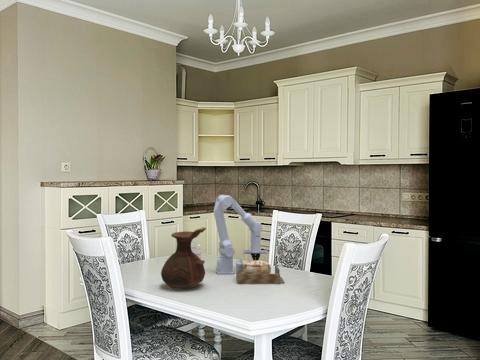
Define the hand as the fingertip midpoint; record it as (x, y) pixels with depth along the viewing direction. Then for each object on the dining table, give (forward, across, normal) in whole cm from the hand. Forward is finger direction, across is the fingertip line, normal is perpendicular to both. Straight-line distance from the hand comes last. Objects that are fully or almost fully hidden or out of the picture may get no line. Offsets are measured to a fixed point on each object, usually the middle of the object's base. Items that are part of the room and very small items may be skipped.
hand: (255, 266), depth 263 cm
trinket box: (+3, 0, -11) cm, 12 cm away
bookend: (+2, +11, -25) cm, 27 cm away
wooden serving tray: (+2, -1, -26) cm, 26 cm away
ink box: (+2, -37, +19) cm, 42 cm away
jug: (+2, -39, -36) cm, 53 cm away
